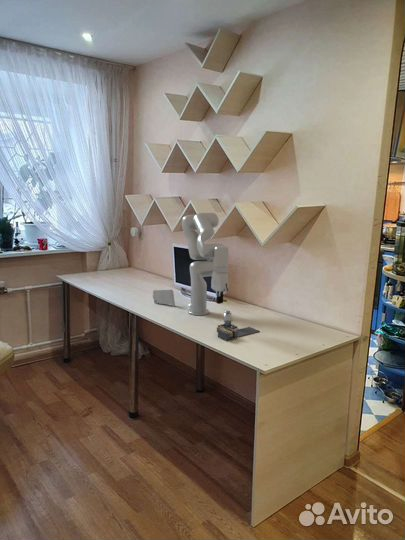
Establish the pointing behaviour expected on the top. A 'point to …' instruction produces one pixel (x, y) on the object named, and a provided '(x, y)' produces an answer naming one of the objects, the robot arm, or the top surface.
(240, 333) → the mat
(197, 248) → the robot arm
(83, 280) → the top surface
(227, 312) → the peg
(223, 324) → the socket collar
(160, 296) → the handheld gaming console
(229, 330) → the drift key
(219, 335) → the socket block
